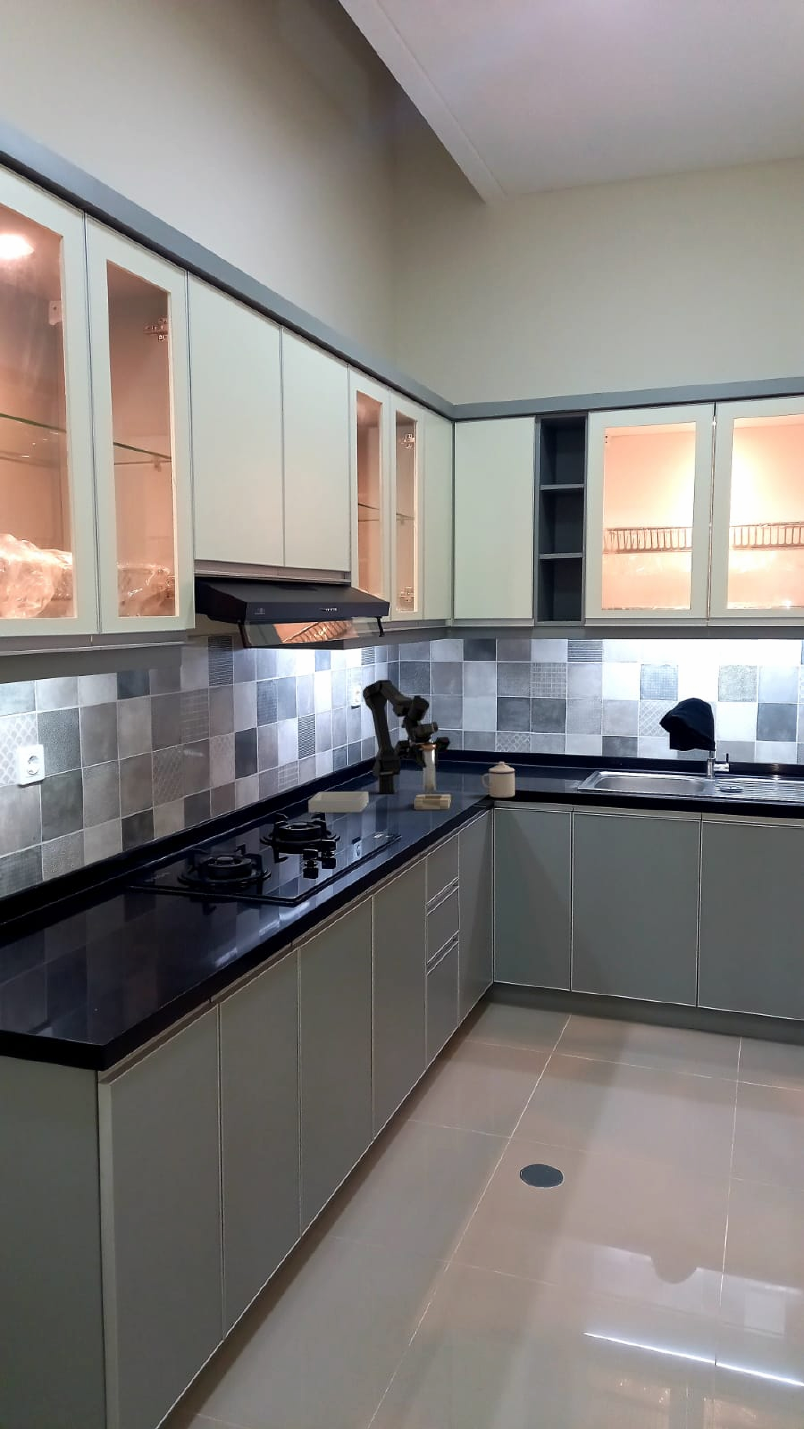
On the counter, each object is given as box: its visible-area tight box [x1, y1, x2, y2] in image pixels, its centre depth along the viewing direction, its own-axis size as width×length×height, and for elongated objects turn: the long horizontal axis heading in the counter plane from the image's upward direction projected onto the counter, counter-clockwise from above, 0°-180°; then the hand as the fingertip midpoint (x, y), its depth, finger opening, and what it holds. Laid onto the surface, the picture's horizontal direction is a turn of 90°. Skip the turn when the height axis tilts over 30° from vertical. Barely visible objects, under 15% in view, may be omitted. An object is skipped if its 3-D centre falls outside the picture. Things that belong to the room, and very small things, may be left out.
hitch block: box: [413, 793, 451, 811], centre depth 334 cm, size 11×11×3 cm
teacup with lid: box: [481, 761, 516, 799], centre depth 350 cm, size 12×9×12 cm
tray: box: [308, 791, 369, 813], centre depth 336 cm, size 17×17×4 cm
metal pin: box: [421, 744, 437, 793], centre depth 332 cm, size 5×5×15 cm
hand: (430, 766), depth 331 cm, fingers closed on metal pin, 4 cm apart
